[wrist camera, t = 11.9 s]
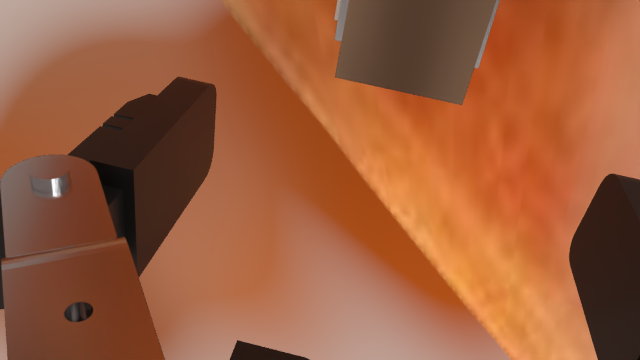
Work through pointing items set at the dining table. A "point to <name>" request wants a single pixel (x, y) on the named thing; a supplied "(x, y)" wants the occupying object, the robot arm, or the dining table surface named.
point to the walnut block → (414, 45)
